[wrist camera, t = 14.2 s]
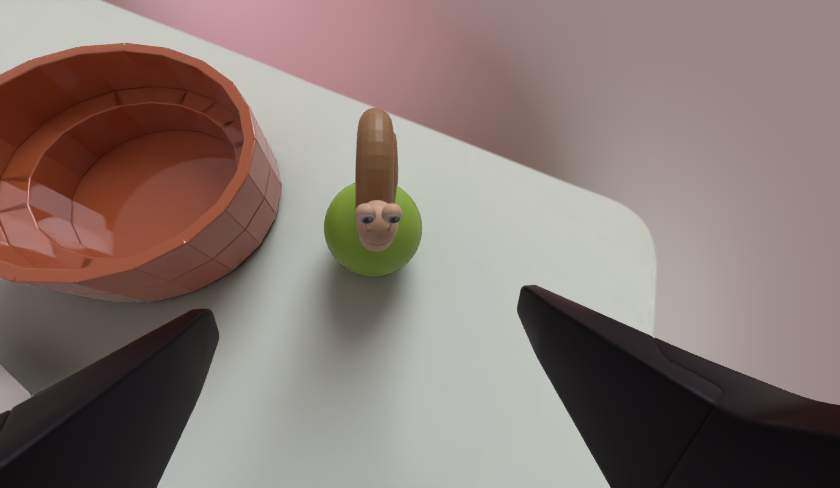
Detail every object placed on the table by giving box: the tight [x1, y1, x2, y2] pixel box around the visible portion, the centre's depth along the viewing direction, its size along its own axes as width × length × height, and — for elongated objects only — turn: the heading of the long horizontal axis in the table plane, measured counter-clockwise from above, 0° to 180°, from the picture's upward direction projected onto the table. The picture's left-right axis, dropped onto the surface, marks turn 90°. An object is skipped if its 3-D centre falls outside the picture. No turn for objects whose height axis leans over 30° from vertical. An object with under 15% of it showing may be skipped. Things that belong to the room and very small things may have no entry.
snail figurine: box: [324, 108, 422, 276], centre depth 14 cm, size 5×6×12 cm
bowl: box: [0, 43, 282, 302], centre depth 16 cm, size 13×13×5 cm
